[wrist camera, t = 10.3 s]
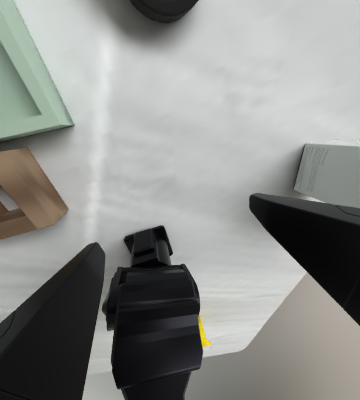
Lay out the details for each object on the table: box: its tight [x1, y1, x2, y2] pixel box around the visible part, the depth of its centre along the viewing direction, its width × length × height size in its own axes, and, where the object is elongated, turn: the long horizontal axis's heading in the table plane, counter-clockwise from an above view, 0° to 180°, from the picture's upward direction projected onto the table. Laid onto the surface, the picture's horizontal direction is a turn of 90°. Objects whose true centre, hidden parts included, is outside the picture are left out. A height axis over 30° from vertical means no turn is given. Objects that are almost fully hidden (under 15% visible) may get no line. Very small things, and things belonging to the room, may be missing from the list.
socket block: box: [0, 147, 68, 240], centre depth 16 cm, size 8×8×4 cm
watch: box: [198, 316, 211, 351], centre depth 36 cm, size 6×3×6 cm, turn 12°
